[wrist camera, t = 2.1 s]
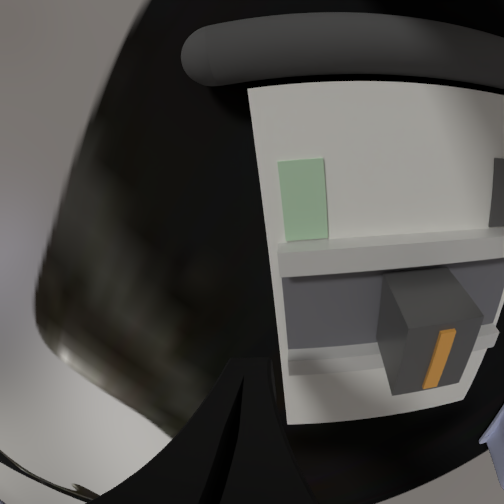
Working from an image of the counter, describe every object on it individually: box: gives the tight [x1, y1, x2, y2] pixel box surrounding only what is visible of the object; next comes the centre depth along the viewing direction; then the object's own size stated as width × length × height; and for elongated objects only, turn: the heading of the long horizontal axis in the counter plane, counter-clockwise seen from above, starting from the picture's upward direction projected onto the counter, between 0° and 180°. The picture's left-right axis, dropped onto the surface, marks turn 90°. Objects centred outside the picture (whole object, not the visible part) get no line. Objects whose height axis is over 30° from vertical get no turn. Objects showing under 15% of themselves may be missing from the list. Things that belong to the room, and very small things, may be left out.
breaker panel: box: [247, 81, 504, 424], centre depth 13 cm, size 18×12×2 cm, turn 7°
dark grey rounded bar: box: [181, 12, 504, 89], centre depth 8 cm, size 2×16×2 cm, turn 98°
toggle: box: [376, 267, 484, 396], centre depth 11 cm, size 3×3×4 cm
